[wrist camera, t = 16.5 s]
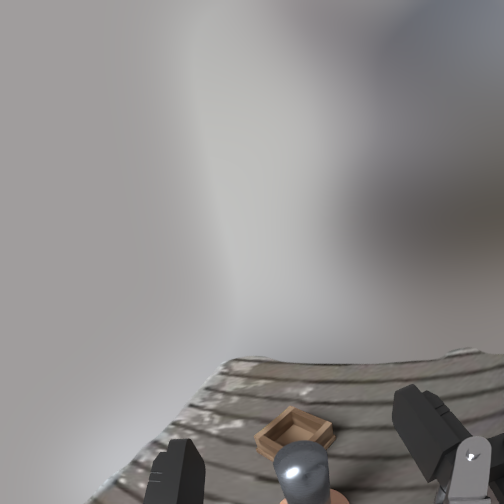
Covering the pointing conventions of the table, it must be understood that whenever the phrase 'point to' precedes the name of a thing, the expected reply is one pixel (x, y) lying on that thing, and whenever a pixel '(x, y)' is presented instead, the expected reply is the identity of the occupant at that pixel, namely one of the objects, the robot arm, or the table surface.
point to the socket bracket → (293, 432)
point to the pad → (337, 499)
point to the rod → (303, 473)
